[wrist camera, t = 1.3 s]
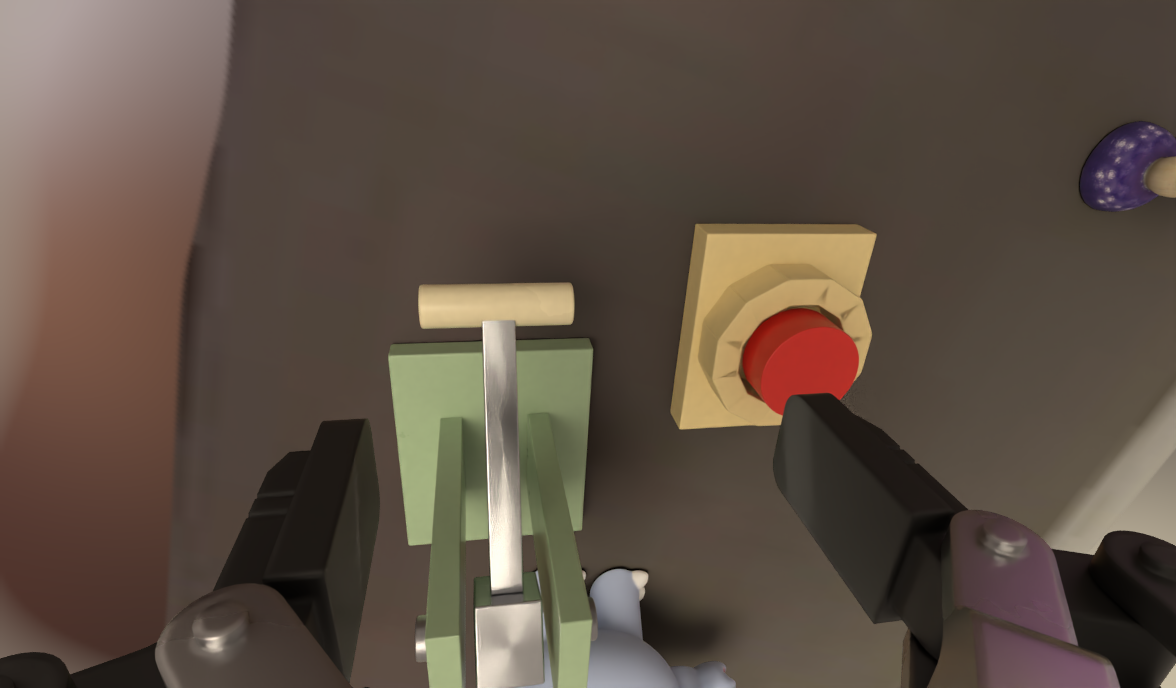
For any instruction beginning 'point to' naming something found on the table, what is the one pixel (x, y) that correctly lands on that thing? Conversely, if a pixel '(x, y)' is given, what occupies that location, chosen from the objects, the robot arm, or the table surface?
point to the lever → (502, 468)
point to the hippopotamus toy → (631, 643)
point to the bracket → (459, 488)
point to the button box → (760, 308)
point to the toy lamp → (1130, 168)
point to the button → (799, 357)
